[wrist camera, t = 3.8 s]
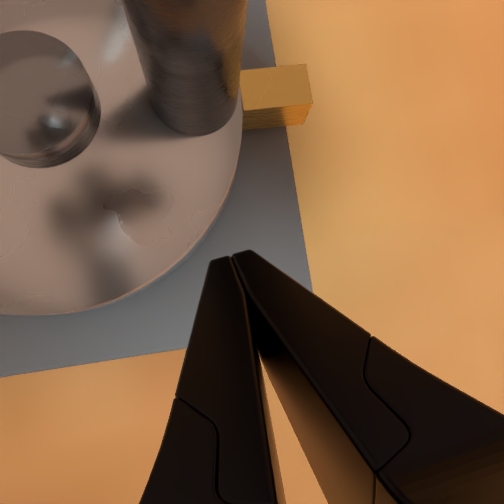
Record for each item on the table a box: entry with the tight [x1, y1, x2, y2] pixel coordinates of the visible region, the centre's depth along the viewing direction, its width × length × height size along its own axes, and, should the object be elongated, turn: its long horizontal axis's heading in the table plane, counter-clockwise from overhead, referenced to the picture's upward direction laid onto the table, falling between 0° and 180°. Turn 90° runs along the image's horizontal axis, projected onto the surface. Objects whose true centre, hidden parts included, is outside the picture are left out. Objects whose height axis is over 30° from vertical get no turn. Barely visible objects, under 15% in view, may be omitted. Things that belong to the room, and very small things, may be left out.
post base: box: [0, 0, 313, 377], centre depth 14 cm, size 14×14×6 cm
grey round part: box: [0, 0, 313, 316], centre depth 9 cm, size 11×13×10 cm
